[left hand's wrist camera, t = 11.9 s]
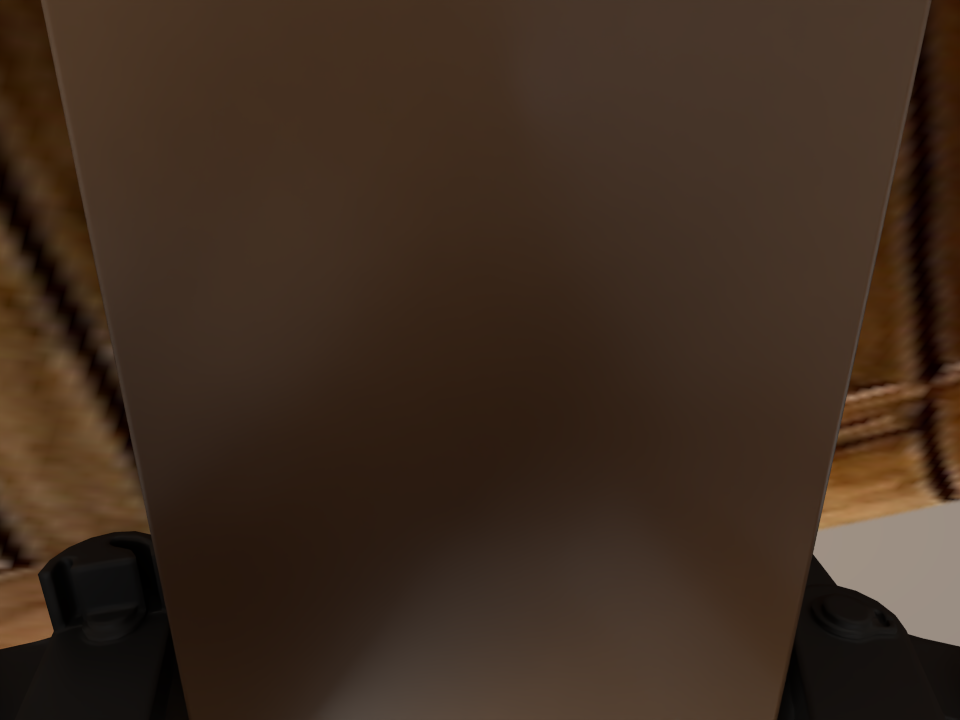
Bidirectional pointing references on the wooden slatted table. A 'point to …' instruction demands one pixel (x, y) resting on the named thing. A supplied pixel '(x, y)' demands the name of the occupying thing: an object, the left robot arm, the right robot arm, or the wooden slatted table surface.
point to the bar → (484, 335)
